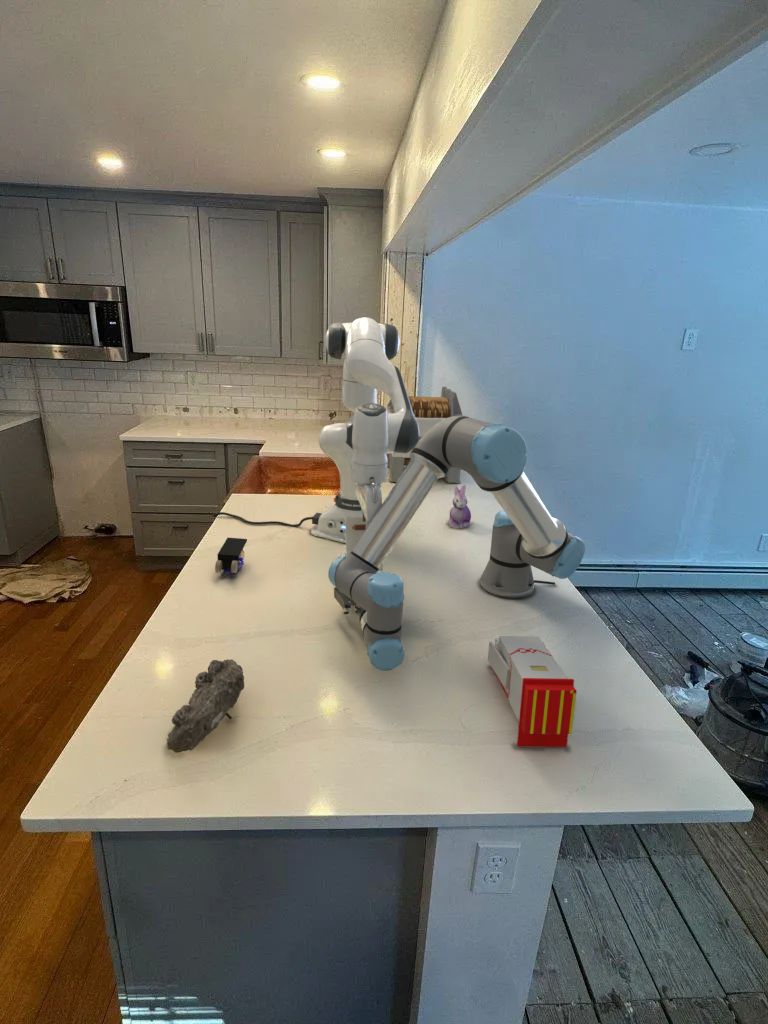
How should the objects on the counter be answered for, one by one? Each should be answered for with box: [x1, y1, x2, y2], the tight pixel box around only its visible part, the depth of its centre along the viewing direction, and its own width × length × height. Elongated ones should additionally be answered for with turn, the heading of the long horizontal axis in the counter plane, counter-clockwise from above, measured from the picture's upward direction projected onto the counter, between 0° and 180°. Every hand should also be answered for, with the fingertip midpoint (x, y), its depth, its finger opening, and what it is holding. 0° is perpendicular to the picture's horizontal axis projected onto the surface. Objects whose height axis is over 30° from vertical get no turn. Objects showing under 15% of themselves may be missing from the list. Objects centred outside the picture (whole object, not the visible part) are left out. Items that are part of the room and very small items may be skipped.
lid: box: [345, 517, 384, 572], centre depth 145 cm, size 14×10×8 cm
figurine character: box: [214, 537, 248, 578], centre depth 166 cm, size 7×8×15 cm
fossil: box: [166, 658, 245, 754], centre depth 106 cm, size 22×10×15 cm
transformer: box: [386, 386, 463, 484], centre depth 268 cm, size 34×33×41 cm
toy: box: [486, 635, 577, 748], centre depth 115 cm, size 12×13×30 cm
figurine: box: [448, 484, 472, 529], centre depth 208 cm, size 9×10×15 cm
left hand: (367, 525), depth 142 cm, fingers open, 4 cm apart
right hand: (362, 577), depth 152 cm, fingers closed on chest, 9 cm apart
